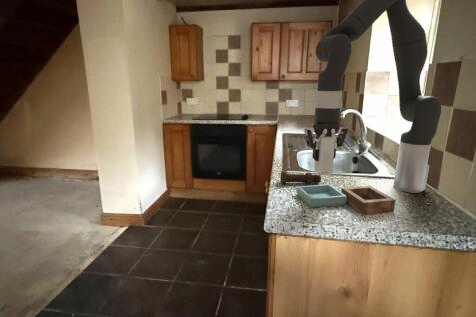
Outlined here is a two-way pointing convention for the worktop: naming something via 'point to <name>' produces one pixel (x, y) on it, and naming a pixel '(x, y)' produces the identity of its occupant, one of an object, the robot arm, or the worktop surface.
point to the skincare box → (325, 157)
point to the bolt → (300, 178)
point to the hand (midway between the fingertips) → (323, 159)
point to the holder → (367, 207)
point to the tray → (321, 196)
